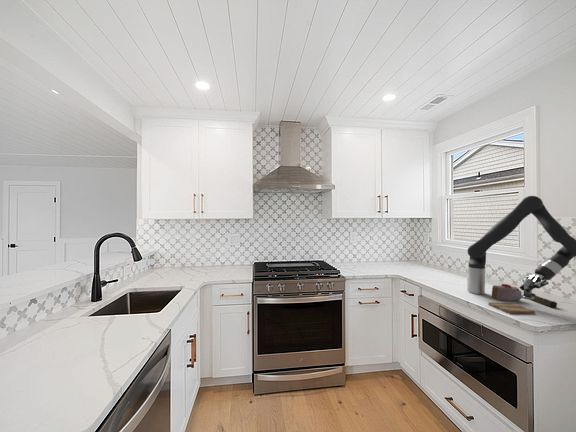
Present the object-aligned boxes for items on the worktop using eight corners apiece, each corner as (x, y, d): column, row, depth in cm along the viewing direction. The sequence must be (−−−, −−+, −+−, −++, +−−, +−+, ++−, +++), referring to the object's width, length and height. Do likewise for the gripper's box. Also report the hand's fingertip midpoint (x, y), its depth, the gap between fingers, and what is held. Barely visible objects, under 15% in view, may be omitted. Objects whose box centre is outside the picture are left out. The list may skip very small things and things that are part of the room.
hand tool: (557, 308, 147) (557, 300, 147) (550, 308, 148) (550, 300, 148) (530, 298, 166) (530, 291, 166) (523, 298, 167) (523, 290, 167)
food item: (512, 298, 166) (512, 282, 166) (523, 302, 158) (523, 286, 158) (490, 297, 167) (490, 282, 167) (499, 301, 159) (499, 285, 159)
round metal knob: (518, 296, 150) (518, 277, 150) (527, 296, 150) (528, 277, 150) (527, 299, 144) (527, 280, 144) (537, 299, 145) (537, 280, 144)
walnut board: (488, 305, 152) (488, 302, 152) (511, 305, 152) (511, 302, 152) (509, 314, 138) (509, 311, 138) (534, 314, 138) (534, 311, 138)
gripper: (533, 262, 153) (509, 282, 155) (553, 267, 139) (528, 288, 141) (543, 272, 152) (519, 291, 154) (564, 277, 138) (538, 298, 140)
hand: (523, 289), depth 148 cm, fingers closed on round metal knob, 3 cm apart
